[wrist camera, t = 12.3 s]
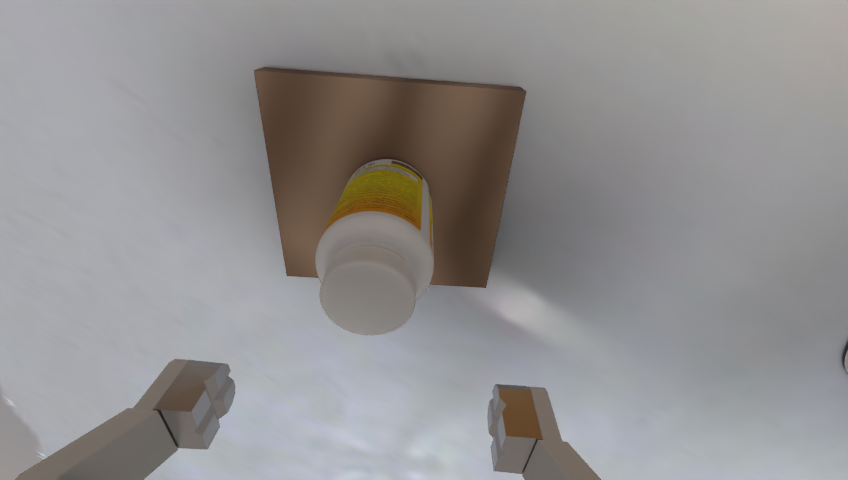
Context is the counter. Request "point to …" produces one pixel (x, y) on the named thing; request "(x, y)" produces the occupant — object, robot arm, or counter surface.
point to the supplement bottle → (377, 249)
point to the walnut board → (390, 156)
